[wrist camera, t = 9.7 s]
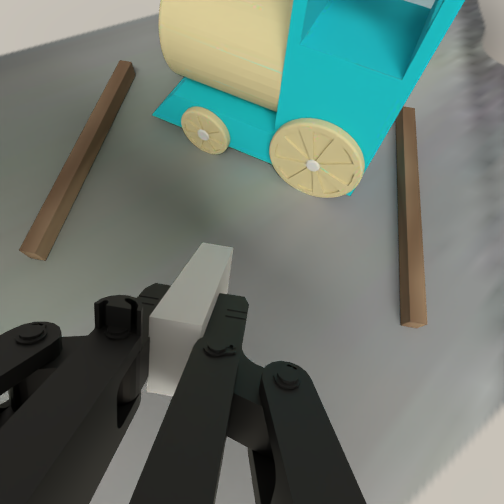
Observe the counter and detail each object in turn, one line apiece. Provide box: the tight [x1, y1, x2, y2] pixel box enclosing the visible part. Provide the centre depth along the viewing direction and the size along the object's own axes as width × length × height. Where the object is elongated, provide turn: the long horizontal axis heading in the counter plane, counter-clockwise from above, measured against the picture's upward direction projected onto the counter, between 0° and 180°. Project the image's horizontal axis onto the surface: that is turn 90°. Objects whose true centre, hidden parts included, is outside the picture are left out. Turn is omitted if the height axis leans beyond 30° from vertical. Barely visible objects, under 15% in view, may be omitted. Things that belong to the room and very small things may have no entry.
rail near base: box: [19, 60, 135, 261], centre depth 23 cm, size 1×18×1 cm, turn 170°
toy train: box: [152, 0, 465, 198], centre depth 19 cm, size 8×17×15 cm, turn 65°
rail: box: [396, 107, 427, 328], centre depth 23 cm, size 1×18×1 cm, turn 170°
